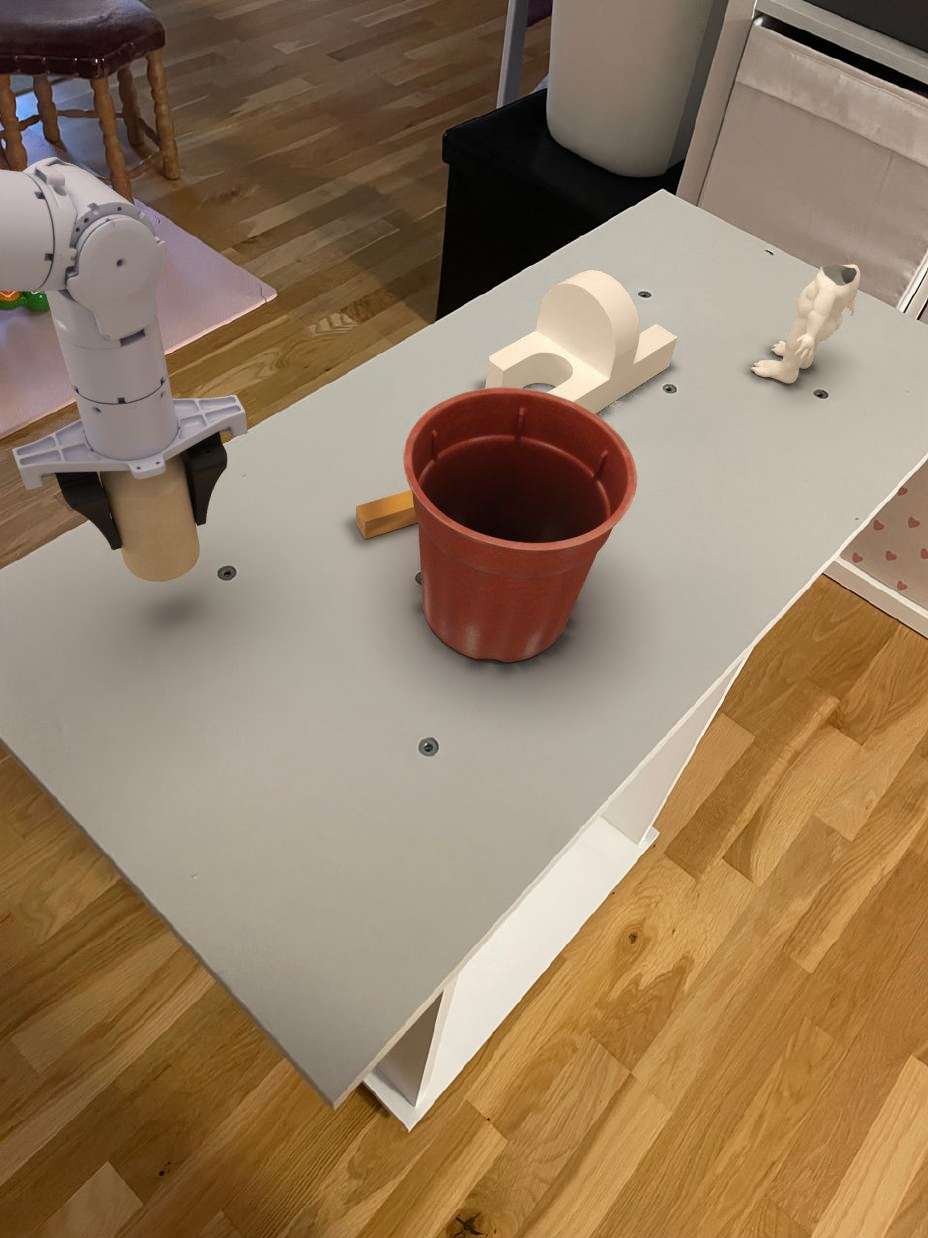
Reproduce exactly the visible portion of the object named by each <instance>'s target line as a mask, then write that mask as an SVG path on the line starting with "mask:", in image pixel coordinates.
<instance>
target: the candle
mask: <svg viewBox="0 0 928 1238" xmlns="http://www.w3.org/2000/svg"><path fill="white" fill-rule="evenodd" d="M165 466H166V471H165V472H164V473H162V474H160V475H156V476H152V477H149V478H145V479H136V478H134V477H133V475H132V473H131V472H130V471H99V479H100V482H101V485H102V487H103V490H104V492H105V495H106V497H107V502H108V507H109V511H110V515H111V519H112V522H113V524H114V526H115V529H116V531H117V534H118V536H119V539H120V541H121V546H122V548H120V549H119V550H120V553H121V556H122V559H123V563H124V564H125V566H126V568H127V570H128V571H129V572H130V573H131V574H132V575H134V577H137V578H139V579H141V580H144V581H147V582H153V583H162V582H168V581H169V582H170V581H173V580H176V579H178V578H181V577H183V576H184V575H186V574H187V573H189V572H190V571H191V570H192V569H193V568H194V567H195V566H196V564H197V562H198V561H199V558H200V552H201V547H200V539H199V534H198V529H197V525H196V522H195V518H194V513H193V507H192V502H191V497H190V492H189V487H188V481H187V476H186V471H185V466H184V462H183V460H182V458H181V456H180V455H179V453H178V454H177V455H175V456H173V457H171V458H170V459H168V460H166V461H165Z"/></svg>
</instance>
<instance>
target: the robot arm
mask: <svg viewBox="0 0 928 1238" xmlns="http://www.w3.org/2000/svg"><path fill="white" fill-rule="evenodd" d="M167 246H168V245H167V242H166V241H165V240H161V238H160V237H158V236H157V232H156V228H155V227H154V224H153V222H152V221H151V220H150V218H149V217H148V216H147V214H146V213H144V212H143V211H142V210H141V209H140V208H139V207H137V206H136V205H134V204H133V203H131V202H130V201H129V200H128V199H126V198H125V197H123V196H122V195H121V194H119V193H118V192H116V191H115V190H114V189H113V188H111V187H110V186H108V185H107V184H106V183H104V182H103V181H102V180H100V179H99V178H97V177H96V176H95V175H93V174H92V173H91V172H89V171H87V170H86V169H84V168H81V167H79V166H78V165H75V164H73V163H71V162H65V161H63V160H61V159H60V158H59V157H56V156H53V157H47V158H43V159H40V160H39V161H35V162H34V163H32V164H31V165H29V166H28V167H26V168H25V169H24V170H22V171H18V170H17V171H16V170H8V169H0V292H29V293H30V292H33V293H35V292H36V293H43V292H45V295H46V296H45V297H46V298H47V302H48V306H49V311H50V313H51V318H52V322H53V326H54V329H55V333H56V335H57V339H58V343H59V346H60V347H59V348H60V350H61V353H62V357H63V360H64V364H65V367H66V370H67V375H68V378H69V382H70V385H71V388H72V392H73V396H74V400H75V402H76V406H77V409H78V414H79V416H80V418H79V419H78V420H75V421H74V422H72V423H70V424H68V425H66V426H64V427H61V428H60V429H58V430H55V431H53V432H52V433H50V434H48V435H45V436H44V437H42V438H39V439H37V440H35V441H33V442H31V443H27V444H24V445H20V446H18V447H17V446H16V447H14V448H12V449H11V450H12V454H13V456H14V459H15V462H16V465H17V468H18V471H19V474H20V477H21V479H22V482H23V485H24V487H25V490H26V491H30V490H34V489H38V488H41V487H43V486H44V485H45V483H44V480H45V479H49V478H53V477H55V479H56V480H57V483H58V486H59V489H60V492H61V494H62V497H63V499H64V501H65V502H66V504H67V505H68V506H69V507H70V508H71V509H72V510H74V511H75V512H77V513H79V514H80V515H82V516H83V517H85V518H86V519H87V520H88V521H90V522H91V523H92V524H93V525H94V526H95V527H96V528H97V529H98V530H99V532H100V533H101V535H102V536H103V537H104V538H105V540H106V541H107V543H108V544H109V547H110V550H112V551H115V550H116V551H117V550H120V548H122V546H121V541H120V539H119V536H118V534H117V531H116V529H115V526H114V524H113V522H112V518H111V515H110V511H109V507H108V502H107V497H106V495H105V492H104V490H103V487H102V483H101V479H100V475H99V474H98V472H100V471H130V472H131V473H132V475H133V477H134V478H136V479H145V478H149V477H152V476H156V475H160V474H162V473H164V472H165V471H166V466H165V461H166V460H168V459H170V458H171V457H173V456H175V455H177V454H179V455H180V456H181V458H182V460H183V462H184V466H185V471H186V476H187V481H188V487H189V492H190V497H191V502H192V507H193V513H194V518H195V523H196V527H200V526H203V525H206V524H207V518H208V511H209V510H208V509H209V505H210V501H211V498H212V495H213V492H214V489H215V486H216V484H217V482H218V481H219V479H220V477H221V475H222V474H223V473H224V472H225V471H226V470H227V468H228V451H227V449H226V448H225V445H224V444H223V442H222V435H221V434H226V433H230V435H231V436H232V437H239V436H243V435H246V434H248V433H249V431H248V421H247V415H246V410H245V408H244V406H243V405H242V402H241V401H240V399H239V397H238V396H237V394H229V395H226V396H219V397H218V396H217V397H203V398H201V397H200V398H199V397H197V398H196V397H195V398H194V397H193V398H191V397H190V398H173V393H172V387H171V382H170V377H169V371H168V365H167V360H166V356H165V355H166V353H165V350H164V343H163V339H162V334H161V328H160V323H159V318H158V313H159V309H158V304H157V297H156V293H157V289H158V285H159V284H160V281H161V279H162V277H163V274H164V271H165V268H166V263H167V257H168V254H167V253H168V249H167V248H168V247H167Z"/></svg>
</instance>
